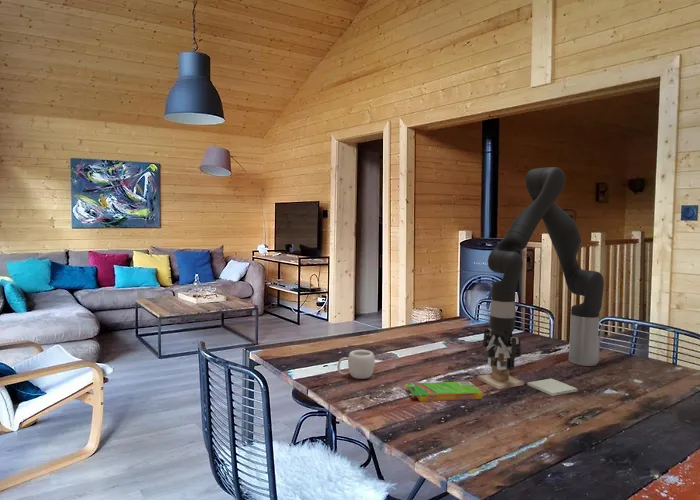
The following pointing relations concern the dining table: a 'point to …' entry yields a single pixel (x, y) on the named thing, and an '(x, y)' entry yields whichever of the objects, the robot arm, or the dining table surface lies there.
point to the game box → (444, 391)
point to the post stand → (500, 377)
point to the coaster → (552, 387)
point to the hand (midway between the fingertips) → (500, 365)
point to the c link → (497, 362)
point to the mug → (359, 364)
